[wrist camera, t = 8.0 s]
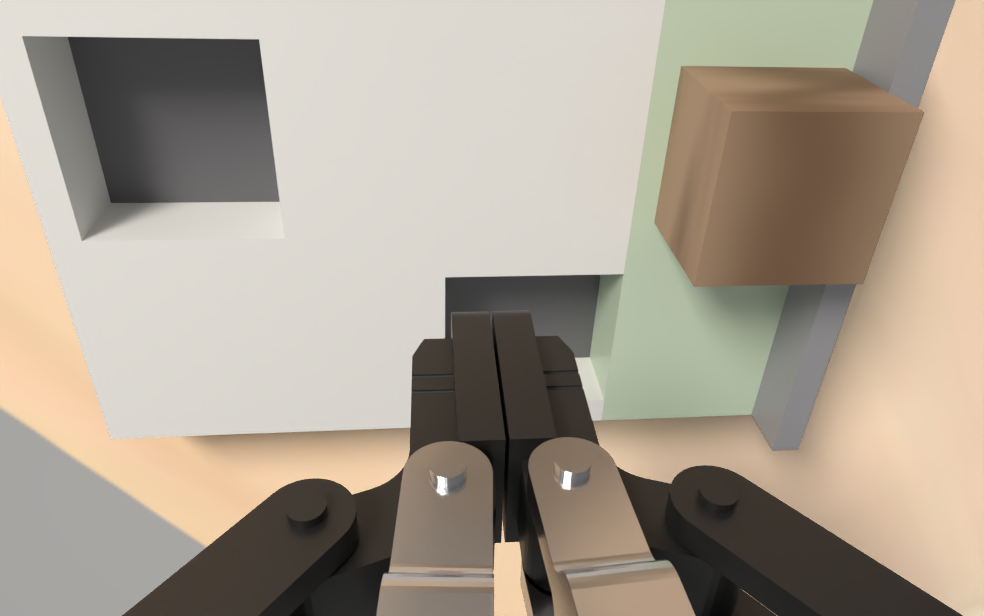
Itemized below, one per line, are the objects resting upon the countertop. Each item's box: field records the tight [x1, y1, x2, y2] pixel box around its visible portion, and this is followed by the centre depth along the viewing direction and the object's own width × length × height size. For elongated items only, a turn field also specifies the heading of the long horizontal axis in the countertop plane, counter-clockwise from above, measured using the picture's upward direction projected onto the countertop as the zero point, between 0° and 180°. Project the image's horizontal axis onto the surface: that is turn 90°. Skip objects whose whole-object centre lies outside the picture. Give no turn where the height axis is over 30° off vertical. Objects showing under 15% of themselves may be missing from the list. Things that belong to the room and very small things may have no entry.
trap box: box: [0, 0, 955, 451], centre depth 24 cm, size 25×16×5 cm, turn 88°
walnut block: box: [654, 66, 924, 287], centre depth 22 cm, size 5×5×4 cm
